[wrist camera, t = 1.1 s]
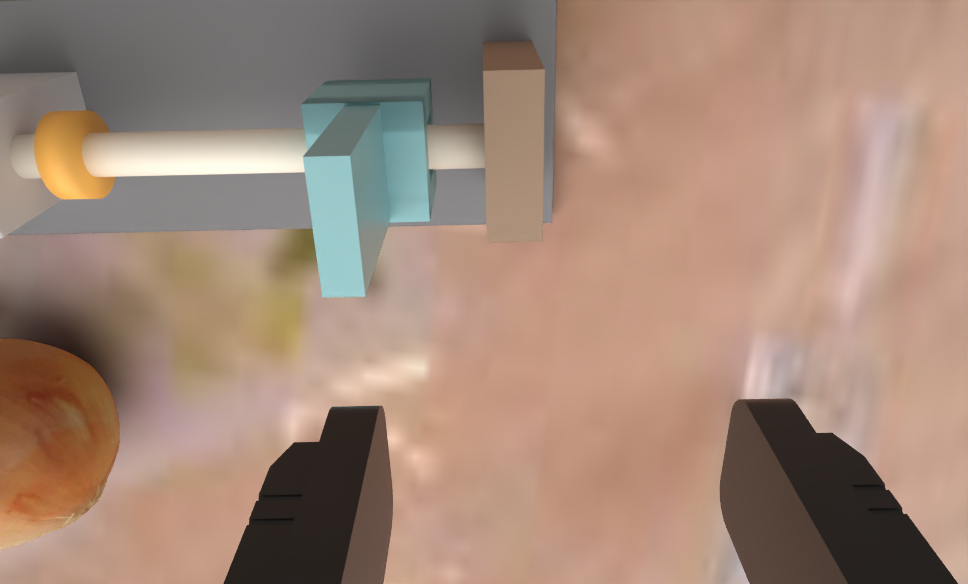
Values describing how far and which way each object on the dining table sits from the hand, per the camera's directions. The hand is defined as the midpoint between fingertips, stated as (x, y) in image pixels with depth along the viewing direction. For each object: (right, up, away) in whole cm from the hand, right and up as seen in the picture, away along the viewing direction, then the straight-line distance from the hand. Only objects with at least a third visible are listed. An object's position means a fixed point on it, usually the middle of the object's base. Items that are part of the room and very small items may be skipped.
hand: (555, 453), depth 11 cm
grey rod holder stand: (-11, +10, +21) cm, 26 cm away
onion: (-24, -2, +28) cm, 36 cm away
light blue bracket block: (-5, +9, +18) cm, 20 cm away
